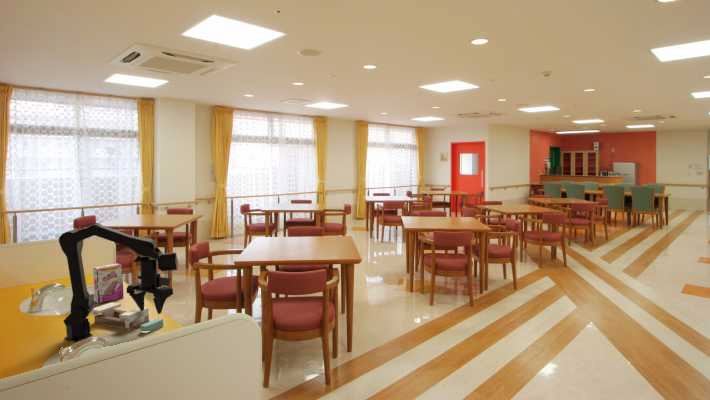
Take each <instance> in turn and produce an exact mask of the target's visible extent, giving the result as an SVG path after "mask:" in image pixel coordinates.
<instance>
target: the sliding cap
mask: <svg viewBox="0 0 710 400" xmlns="http://www.w3.org/2000/svg"><path fill="white" fill-rule="evenodd" d="M121 306H122V303H118V302H111V301H110V302H108V303H104V304H102V305H99V306H96V307H94V309H93V310H92V311H91V312H90V315H92V316H96V315H99V314H100V315H105V316H110V317H112V316H114V309H116V308H120V307H121Z"/></svg>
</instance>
